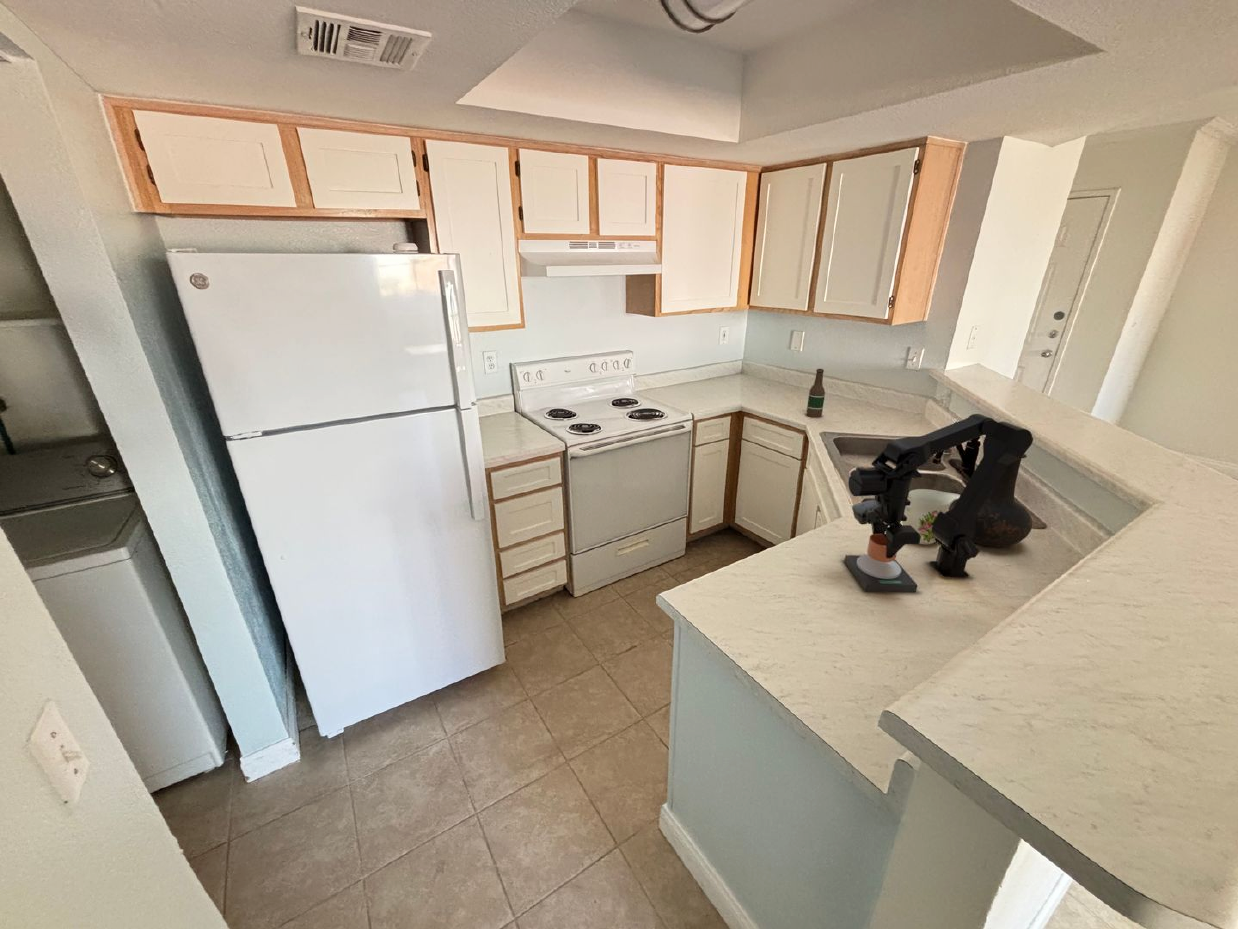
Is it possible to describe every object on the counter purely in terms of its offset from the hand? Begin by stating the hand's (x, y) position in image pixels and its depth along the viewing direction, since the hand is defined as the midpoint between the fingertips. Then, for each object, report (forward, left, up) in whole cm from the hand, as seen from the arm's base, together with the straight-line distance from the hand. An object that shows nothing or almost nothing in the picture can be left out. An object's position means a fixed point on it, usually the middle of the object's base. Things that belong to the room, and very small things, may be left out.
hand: (882, 550), depth 124 cm
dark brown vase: (+18, -38, -7) cm, 43 cm away
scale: (-1, 0, -7) cm, 7 cm away
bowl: (0, 0, -2) cm, 2 cm away
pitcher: (+18, -19, -7) cm, 27 cm away
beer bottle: (+143, -30, -7) cm, 146 cm away
